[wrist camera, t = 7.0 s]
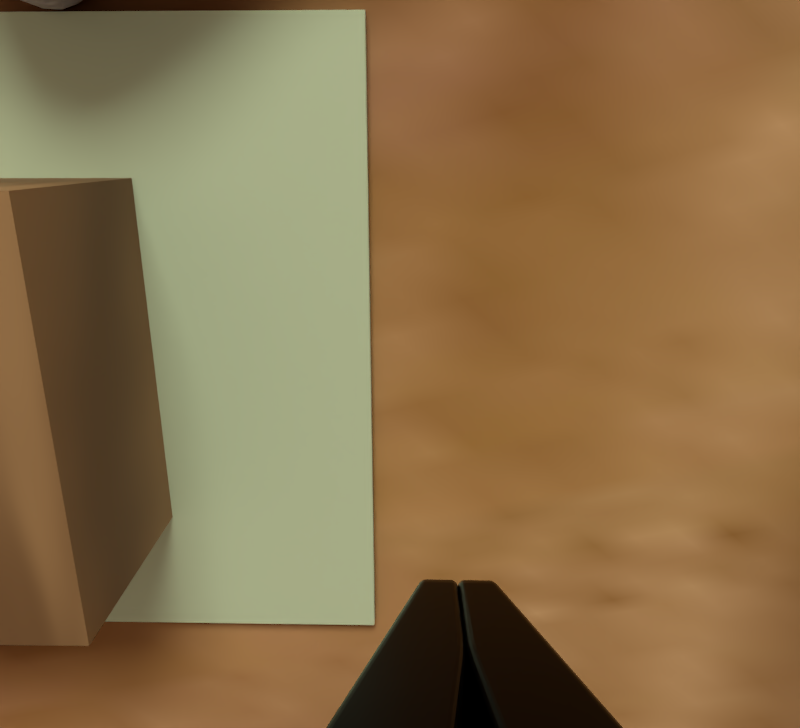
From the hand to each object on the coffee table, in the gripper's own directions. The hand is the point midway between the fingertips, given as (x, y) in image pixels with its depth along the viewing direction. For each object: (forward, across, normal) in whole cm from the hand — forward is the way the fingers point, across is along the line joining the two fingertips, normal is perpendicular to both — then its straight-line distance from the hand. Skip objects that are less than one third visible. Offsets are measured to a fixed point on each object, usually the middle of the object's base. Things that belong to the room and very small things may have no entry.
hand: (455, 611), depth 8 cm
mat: (+10, +11, 0) cm, 14 cm away
